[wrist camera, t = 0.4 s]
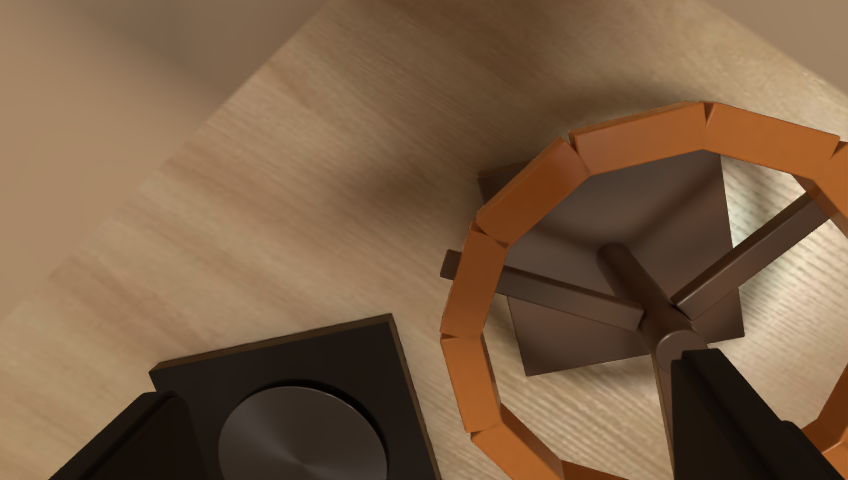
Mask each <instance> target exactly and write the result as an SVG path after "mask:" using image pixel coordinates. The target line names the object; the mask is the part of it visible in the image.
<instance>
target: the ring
mask: <svg viewBox="0 0 848 480" xmlns="http://www.w3.org/2000/svg"><path fill="white" fill-rule="evenodd" d="M568 135H569V140H570V144H569V143H568V142H567V141H566V140H564V139H563V138H562V137H560V136H559V137H557V138H556V139H555V140H554V141H553V142H552V143H551V144H550V145H549V146H548V147H547V148H546V149H544V150H543V151H542V152H541V153H540V154H539V155H538V156H537V157H536V158H535V159H534V160H533V161H532V162H530V163H529V164H528V165H527V166H526V167H525V168H524V169H523V170H522V171H521V172H520V173H519V174H518V175H516V176H515V177H514V178H513V179H512V180H511V181H510V182H509V183H508V184H507V185H506V186H505V187H504V188H502V189H501V190H500V191H499V192H498V193H497V194H496V195H495V196H494V197H493V198H492V199H491V200H490V201H488V202H487V203H486V204H485V205H484V206H483V207H482V208H481V209H480V210H479V211H478V212H477V213H476V222H475V221H471V222H470V226H469V229H468V232H467V236H466V239H465V242H464V246H463V249H462V252H461V256H460V259H459V262H458V266H457V269H456V272H455V276H454V279H453V282H452V286H451V289H450V292H449V296H448V299H447V302H446V306H445V309H444V312H443V316H442V321H441V326H440V332H441V338H440V343H441V347H442V350H443V354H444V358H445V361H446V365H447V368H448V372H449V375H450V379H451V382H452V386H453V389H454V393H455V396H456V400H457V403H458V407H459V411H460V414H461V418H462V421H463V425H464V428H465V431H466V433H470V432H471V441H472V442H473V443H474V444H475V445H476V446H477V447H478V448H479V449H480V450H482V451H483V452H484V453H485V454H486V455H487V456H488V457H489V458H490V459H491V460H492V461H493V462H494V463H495V464H496V465H497V466H499V467H500V468H501V469H502V470H503V471H504V472H505V473H506V474H507V475H508V476H509V477H510V478H511V479H512V480H628V479H625V478H622V477H618V476H615V475H611V474H608V473H605V472H601V471H598V470H594V469H591V468H588V467H584V466H581V465H577V464H574V463H571V462H567V461H564V460H561V459H559V458H558V457H557V456H556V455H555V454H554V453H553V452H552V451H551V450H550V449H549V448H548V447H547V446H546V445H545V444H544V443H543V442H542V441H541V440H540V439H539V438H537V437H536V436H535V435H534V434H533V433H532V432H531V431H530V430H529V429H528V428H527V427H526V426H525V425H524V424H523V423H522V422H521V421H520V420H519V419H518V418H517V417H516V416H515V415H514V414H513V413H512V412H511V411H510V410H508V409H507V408H506V407H505V406H504V405H503V404H502V403H501V400H500V396H499V392H498V388H497V385H496V381H495V377H494V373H493V369H492V365H491V362H490V358H489V354H488V350H487V346H486V342H485V339H484V335H483V331H482V330H483V327H484V324H485V321H486V318H487V315H488V312H489V308H490V305H491V302H492V299H493V296H494V293H495V290H496V287H497V284H498V281H499V278H500V275H501V272H502V269H503V266H504V262H505V259H506V256H507V253H508V250H509V247H511V246H512V245H513V244H514V243H515V242H516V241H517V240H519V239H520V238H521V237H522V236H523V235H524V234H525V233H526V232H528V231H529V230H530V229H531V228H532V227H533V226H534V225H535V224H537V223H538V222H539V221H540V220H541V219H542V218H543V217H544V216H546V215H547V214H548V213H549V212H550V211H551V210H552V209H553V208H555V207H556V206H557V205H558V204H559V203H560V202H561V201H562V200H564V199H565V198H566V197H567V196H568V195H569V194H570V193H572V192H573V191H574V190H575V189H576V188H577V187H578V186H579V185H581V184H582V183H583V182H584V181H585V180H586V179H587V178H588V177H590V176H594V175H598V174H602V173H606V172H611V171H615V170H619V169H623V168H627V167H631V166H635V165H640V164H644V163H648V162H652V161H656V160H660V159H665V158H669V157H673V156H677V155H681V154H685V153H690V152H694V151H698V150H706V151H710V152H713V153H717V154H720V155H724V156H728V157H731V158H735V159H738V160H742V161H746V162H749V163H753V164H756V165H760V166H764V167H767V168H771V169H774V170H778V171H782V172H785V173H789V174H791V175H792V176H793V177H794V178H795V179H796V181H797V182H798V183H799V184H800V185H801V186H802V187H803V189H804V190H805V191H806V192H807V193H808V194H809V195H810V196H811V198H812V199H813V200H814V201H815V202H816V203H817V204H818V206H819V207H820V208H821V209H822V210H823V211H824V212H825V214H826V215H827V216H828V217H829V218H830V219H831V220H832V222H833V223H834V224H835V225H836V226H837V227H838V228H839V230H840V231H841V232H842V233H843V234H844V235H845V236H846V238H847V239H848V142H843V141H839V140H840V137H839V136H838V135H834V134H831V133H827V132H823V131H820V130H816V129H812V128H809V127H805V126H801V125H798V124H794V123H790V122H787V121H783V120H780V119H776V118H772V117H769V116H765V115H761V114H758V113H754V112H750V111H747V110H743V109H739V108H736V107H732V106H729V105H725V104H721V103H718V102H709V101H698V102H694V101H683V102H679V103H675V104H671V105H668V106H664V107H660V108H656V109H652V110H648V111H644V112H640V113H636V114H632V115H628V116H624V117H621V118H617V119H613V120H609V121H605V122H601V123H597V124H593V125H589V126H585V127H581V128H578V129H574V130H570V131H569V132H568ZM800 430H801V431H802V432H803V433H804V434H805V435H806V436H807V438H808V439H809V440H810V441H811V442H812V443H813V444H814V445H815V446H816V448H817V449H818V450H819V451H820V452H821V453H822V454H823V455H824V457H825V458H826V459H827V460H828V461H829V462H830V463H831V464H832V466H833V467H834V468H835V469H836V470H837V471H838V472H839V473H840V474H841V476H842V477H843V478H844V479H845V480H846V479H847V478H848V364H847V365H846V367H845V369H844V371H843V373H842V375H841V376H840V378H839V380H838V382H837V384H836V385H835V387H834V389H833V391H832V393H831V394H830V396H829V398H828V400H827V402H826V403H825V405H824V407H823V409H822V411H821V413H820V414H819V416H818V418H817V419H816V420H814V421H813V422H811V423H810V424H808V425H807V426H805V427H804V428H802V429H800Z"/></svg>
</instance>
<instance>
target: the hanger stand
mask: <svg viewBox="0 0 848 480" xmlns="http://www.w3.org/2000/svg"><path fill="white" fill-rule="evenodd" d="M533 160H534V159H533ZM533 160H529V161H525V162H521V163H517V164H513V165H509V166H505V167H501V168H497V169H493V170H489V171H485V172H481V173H478V178H477V179H478V184H479V188H480V192H481V196H482V200H483V204H484V205H485V204H486V203H487V202H488V201H490V200H491V199H492V198H493V197H494V196H495V195H496V194H497V193H498V192H499V191H500V190H501V189H502V188H504V187H505V186H506V185H507V184H508V183H509V182H510V181H511V180H512V179H513V178H514V177H515V176H516V175H518V174H519V173H520V172H521V171H522V170H523V169H524V168H525V167H526V166H527V165H528V164H529V163H530V162H532V161H533ZM829 219H830V218H829V217H828V216H827V215H826V214H825V212H824V211H823V210H822V209H821V208H820V207H819V206H818V204H817V203H816V202H815V201H814V200H813V199H812V198H811V196H810V195H809V194H808V193H807V192H805V193H804V194H803V195H802V196H800V197H799V198H798V199H796V200H795V201H794V202H793V203H791V204H790V205H789V206H787V207H786V208H785V209H784V210H782V211H781V212H780V213H778V214H777V215H776V216H774V217H773V218H772V219H771V220H769V221H768V222H767V223H765V224H764V225H763V226H762V227H760V228H759V229H758V230H756V231H755V232H754V233H753V234H751V235H750V236H749V237H747V238H746V239H745V240H744V241H742V242H741V243H740V244H738V245H737V246H736V247H735V248H733V246H732V239H731V231H730V224H729V217H728V210H727V202H726V195H725V188H724V181H723V173H722V166H721V159H720V154H717V153H713V152H710V151H706V150H698V151H694V152H690V153H685V154H681V155H677V156H673V157H669V158H665V159H660V160H656V161H652V162H648V163H644V164H640V165H635V166H631V167H627V168H623V169H619V170H615V171H611V172H606V173H602V174H598V175H594V176H590V177H588V178H587V179H586V180H585V181H584V182H583V183H582V184H581V185H579V186H578V187H577V188H576V189H575V190H574V191H573V192H572V193H570V194H569V195H568V196H567V197H566V198H565V199H564V200H562V201H561V202H560V203H559V204H558V205H557V206H556V207H555V208H553V209H552V210H551V211H550V212H549V213H548V214H547V215H546V216H544V217H543V218H542V219H541V220H540V221H539V222H538V223H537V224H535V225H534V226H533V227H532V228H531V229H530V230H529V231H528V232H526V233H525V234H524V235H523V236H522V237H521V238H520V239H519V240H517V241H516V242H515V243H514V244H513V245H512V246H511V247H509V250H508V253H507V256H506V259H505V262H504V266H503V269H502V272H501V275H500V278H499V281H498V284H497V287H496V290H495V293H498V294H502V295H505V296H506V297H507V301H508V305H509V309H510V313H511V317H512V322H513V326H514V330H515V334H516V338H517V342H518V346H519V350H520V354H521V358H522V362H523V366H524V370H525V374H526V376H527V377H529V376H534V375H540V374H545V373H550V372H556V371H561V370H567V369H572V368H578V367H583V366H588V365H594V364H599V363H605V362H610V361H616V360H621V359H627V358H632V357H637V356H643V355H648V354H651V357H652V362H653V368H654V373H655V379H656V384H657V389H658V395H659V400H660V406H661V411H662V417H663V422H664V427H665V433H666V438H667V444H668V449H669V455H670V460H671V465H672V471H673V476H674V456H673V424H672V393H671V361H672V360H675V359H681V354H682V352H683V351H685V350H698V349H708V347H707V344H708V343H714V342H719V341H724V340H730V339H735V338H741V337H745V333H744V325H743V318H742V311H741V304H740V296H739V289H738V287H739V286H741V285H742V284H743V283H745V282H746V281H747V280H749V279H750V278H751V277H753V276H754V275H755V274H757V273H758V272H759V271H761V270H762V269H763V268H765V267H766V266H767V265H769V264H770V263H771V262H773V261H774V260H775V259H777V258H778V257H779V256H781V255H782V254H783V253H785V252H786V251H787V250H789V249H790V248H791V247H793V246H794V245H795V244H797V243H798V242H799V241H801V240H802V239H803V238H805V237H806V236H807V235H809V234H810V233H811V232H813V231H814V230H815V229H817V228H818V227H819V226H821V225H822V224H823V223H825V222H826V221H827V220H829ZM460 256H461V252H457V251H454V250H450V249H448V250H447V251H446V254H445V258H444V261H443V265H442V268H441V272H440V276H441V277H443V278H446V279H450V280H453V279H454V276H455V272H456V269H457V266H458V262H459V259H460Z"/></svg>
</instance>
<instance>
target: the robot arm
mask: <svg viewBox="0 0 848 480" xmlns="http://www.w3.org/2000/svg"><path fill="white" fill-rule="evenodd" d="M671 393H672V424H673V456H674V480H845V479H844V478H843V477H842V476H841V474H840V473H839V472H838V471H837V470H836V469H835V468H834V467H833V466H832V464H831V463H830V462H829V461H828V460H827V459H826V458H825V457H824V455H823V454H822V453H821V452H820V451H819V450H818V449H817V448H816V446H815V445H814V444H813V443H812V442H811V441H810V440H809V439H808V438H807V436H806V435H805V434H804V433H803V432H802V431H801V430H800V429H799V428H798V427H797V426H796V425H795V424H794V423H793V422H790V421H786V420H785V421H781V420H780V419H779V418H778V417H777V416H776V414H775V413H774V412H773V411H772V410H771V409H770V407H769V406H768V405H767V404H766V403H765V402H764V400H763V399H762V398H761V397H760V396H759V395H758V393H757V392H756V391H755V390H754V389H753V388H752V387H751V385H750V384H749V383H748V382H747V381H746V380H745V378H744V377H743V376H742V375H741V374H740V373H739V371H738V370H737V369H736V368H735V367H734V366H733V364H732V363H731V362H730V361H729V360H728V359H727V357H726V356H725V355H724V354H723V353H722V352H721V351H720V350H719V349H718V348H711V349H698V350H685V351H683V352H682V354H681V359H675V360H672V361H671ZM48 480H209V477H208V473H207V470H206V466H205V463H204V460H203V456H202V453H201V449H200V446H199V442H198V439H197V435H196V432H195V428H194V425H193V421H192V418H191V415H190V411H189V408H188V404H187V402H186V400H185V399H184V398H182V397H179V395H178V394H177V393H176V392H175V391H159V392H147V393H143V394H141V395H140V396H139V397H138V398H137V399H136V400H134V401H133V402H132V403H131V404H130V405H129V406H128V407H127V408H126V409H125V410H124V411H122V412H121V413H120V414H119V415H118V416H117V417H116V418H115V419H114V420H113V421H112V422H111V423H109V424H108V425H107V426H106V427H105V428H104V429H103V430H102V431H101V432H100V433H99V434H97V435H96V436H95V437H94V438H93V439H92V440H91V441H90V442H89V443H88V444H87V445H85V446H84V447H83V448H82V449H81V450H80V451H79V452H78V453H77V454H76V455H75V456H74V457H72V458H71V459H70V460H69V461H68V462H67V463H66V464H65V465H64V466H63V467H62V468H60V469H59V470H58V471H57V472H56V473H55V474H54V475H53V476H52V477H51V478H50V479H48Z"/></svg>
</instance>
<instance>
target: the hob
mask: <svg viewBox="0 0 848 480" xmlns="http://www.w3.org/2000/svg"><path fill="white" fill-rule="evenodd" d="M149 375H150V378H151V380H152V382H153V385H154V387H155V389H156V392H159V391H175V392H176V393H177V394H178V395H179V397H182V398H184V399H185V400H186V402H187V404H188V408H189V411H190V415H191V418H192V421H193V425H194V428H195V432H196V435H197V439H198V442H199V446H200V449H201V453H202V456H203V460H204V463H205V466H206V470H207V473H208V477H209V480H441V477H440V473H439V470H438V467H437V463H436V460H435V457H434V453H433V450H432V447H431V444H430V440H429V437H428V434H427V430H426V427H425V424H424V420H423V417H422V414H421V410H420V407H419V404H418V400H417V397H416V394H415V391H414V387H413V384H412V381H411V377H410V374H409V371H408V367H407V364H406V361H405V357H404V354H403V351H402V348H401V344H400V341H399V338H398V334H397V331H396V328H395V324H394V321H393V318H392V315H391V314H389V315H384V316H379V317H375V318H370V319H365V320H360V321H356V322H351V323H346V324H341V325H337V326H332V327H327V328H323V329H318V330H313V331H308V332H304V333H299V334H294V335H290V336H285V337H280V338H275V339H271V340H266V341H261V342H256V343H252V344H247V345H242V346H238V347H233V348H228V349H223V350H219V351H214V352H209V353H205V354H200V355H195V356H190V357H186V358H181V359H176V360H171V361H167V362H162V363H158V364H157V365H156V366H155V367H154V368H152V369H151V370H150V371H149Z"/></svg>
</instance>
